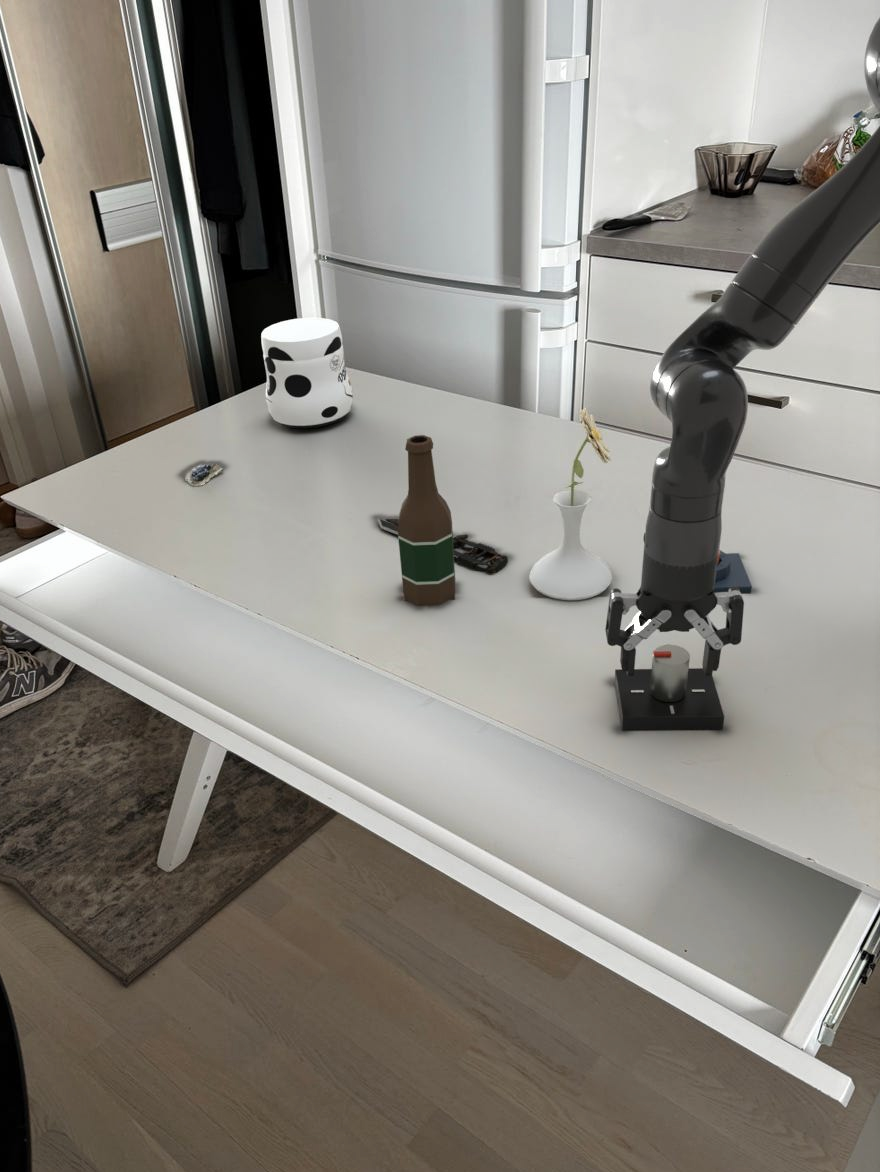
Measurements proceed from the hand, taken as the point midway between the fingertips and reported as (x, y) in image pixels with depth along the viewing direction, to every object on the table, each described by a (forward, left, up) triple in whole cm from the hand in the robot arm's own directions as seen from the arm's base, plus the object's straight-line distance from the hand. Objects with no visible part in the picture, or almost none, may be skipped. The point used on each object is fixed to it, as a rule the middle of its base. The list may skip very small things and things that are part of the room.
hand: (668, 671), depth 110 cm
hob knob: (0, 0, -3) cm, 3 cm away
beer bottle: (+29, -26, -6) cm, 39 cm away
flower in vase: (+9, -29, -6) cm, 31 cm away
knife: (+29, -41, -6) cm, 51 cm away
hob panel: (0, 0, -6) cm, 6 cm away
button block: (-9, -29, -6) cm, 31 cm away
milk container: (+57, -95, -6) cm, 111 cm away
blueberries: (+73, -69, -6) cm, 101 cm away
